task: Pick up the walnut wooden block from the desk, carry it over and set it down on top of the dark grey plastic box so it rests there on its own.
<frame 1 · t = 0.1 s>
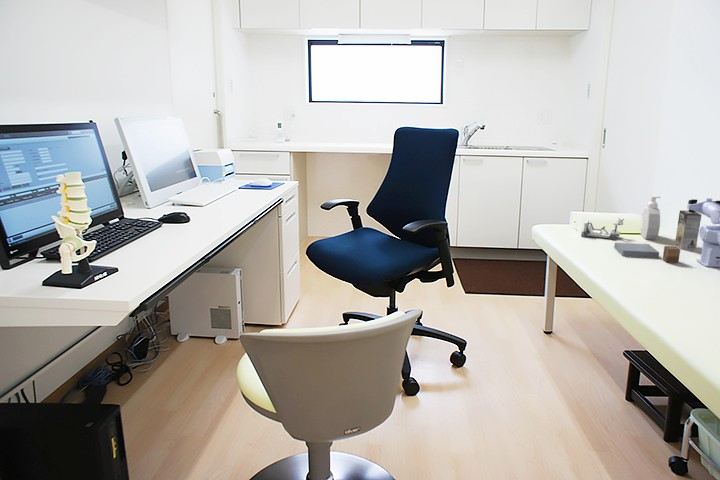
hand: (698, 202, 240), 22 cm above the table, tool horizontal, fingers open, 7 cm apart
toy rover: (601, 237, 273), on the table
walnut block: (670, 261, 230), on the table
soap bottle: (648, 237, 272), on the table
grey box: (635, 253, 243), on the table
coffee box: (685, 247, 253), on the table
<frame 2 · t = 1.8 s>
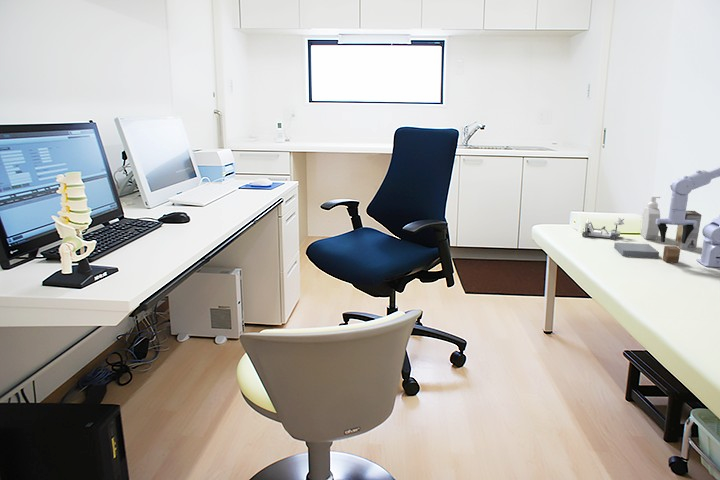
hand: (672, 242, 228), 8 cm above the table, tool pointing down, fingers open, 7 cm apart
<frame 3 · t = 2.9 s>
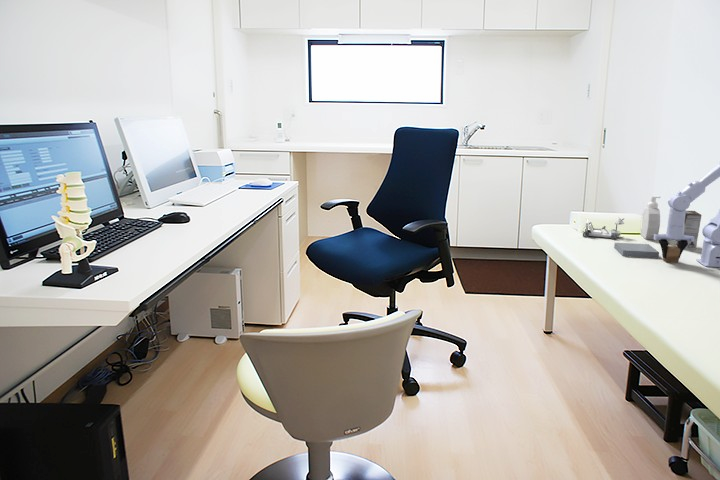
hand: (670, 257, 229), 2 cm above the table, tool pointing down, fingers closed on walnut block, 4 cm apart
walnut block: (670, 261, 230), on the table, touching gripper
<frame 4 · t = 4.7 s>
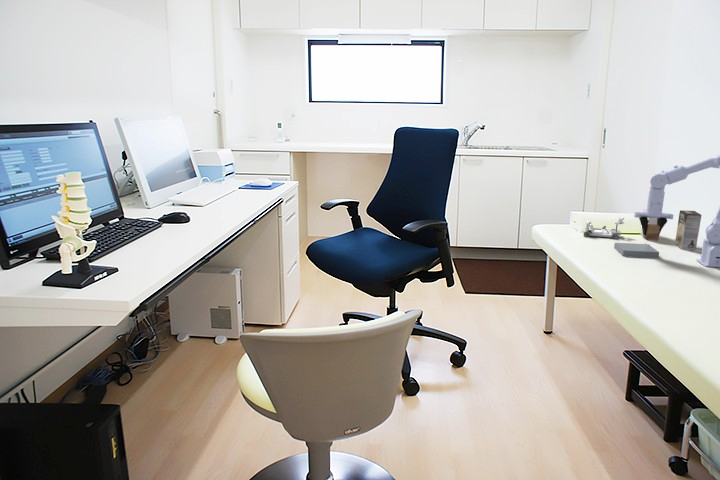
hand: (650, 235, 236), 9 cm above the table, tool pointing down, fingers closed on walnut block, 4 cm apart
walnut block: (650, 239, 236), point 7 cm above the table, touching gripper
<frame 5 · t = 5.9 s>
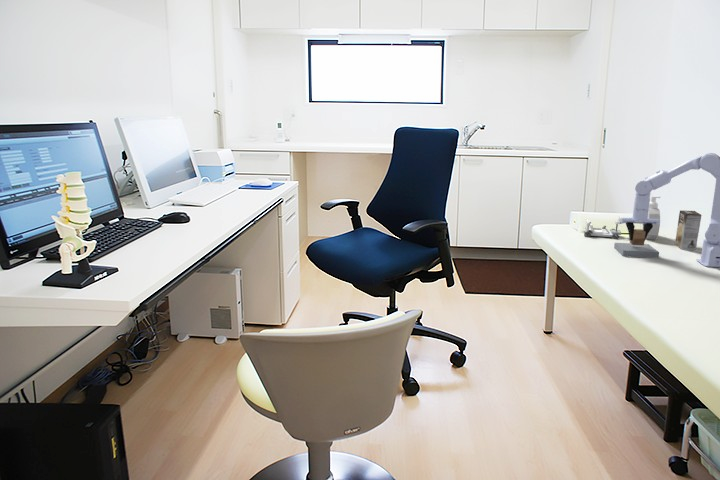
hand: (637, 240, 241), 6 cm above the table, tool pointing down, fingers closed on walnut block, 4 cm apart
walnut block: (636, 243, 242), point 4 cm above the table, touching gripper
when the fingers open (6 cm above the table, at t = 6.6 s): walnut block drops 2 cm, resting on grey box.
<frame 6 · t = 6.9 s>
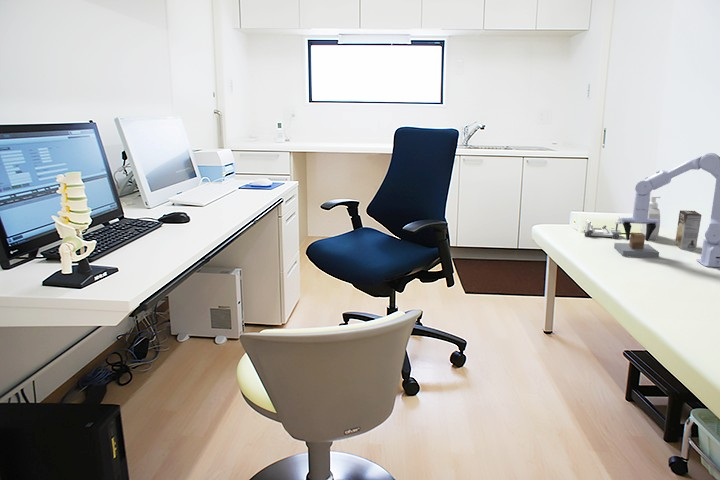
hand: (637, 240, 241), 6 cm above the table, tool pointing down, fingers open, 7 cm apart
walnut block: (636, 247, 242), point 2 cm above the table, touching grey box
grey box: (635, 254, 243), on the table, touching walnut block
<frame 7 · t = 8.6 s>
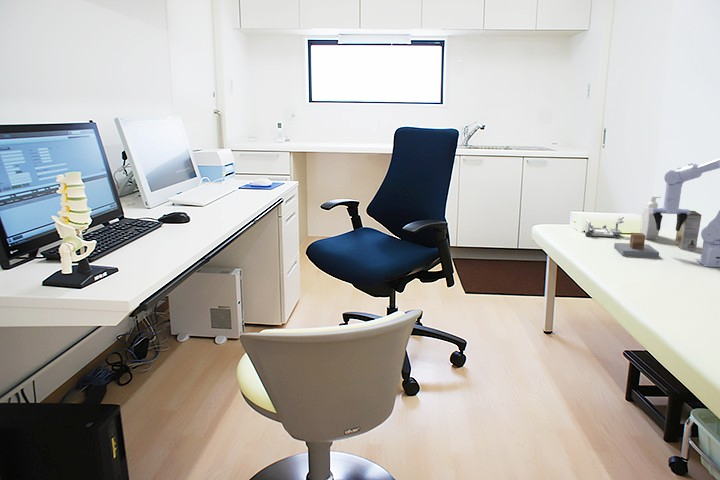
hand: (667, 230, 241), 10 cm above the table, tool pointing down, fingers open, 7 cm apart
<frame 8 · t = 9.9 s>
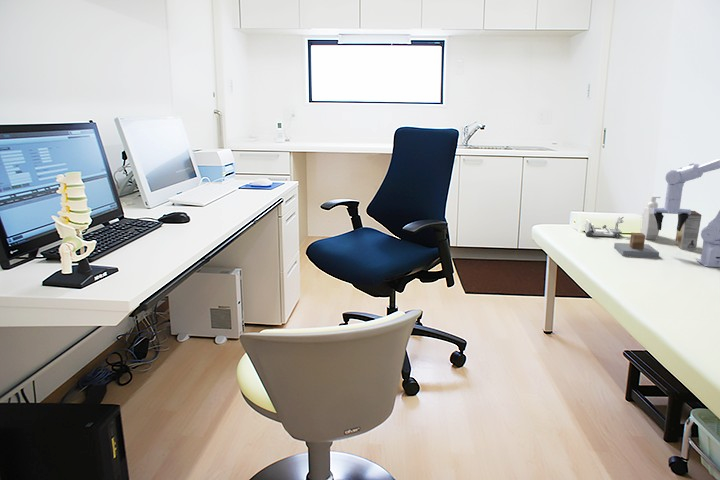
hand: (668, 230, 241), 10 cm above the table, tool pointing down, fingers open, 7 cm apart
at the end: walnut block inside the target area on the grey box (0.1 cm from its centre), point 3.0 cm above the grey box's base; walnut block tilted 1°; walnut block touching grey box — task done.
